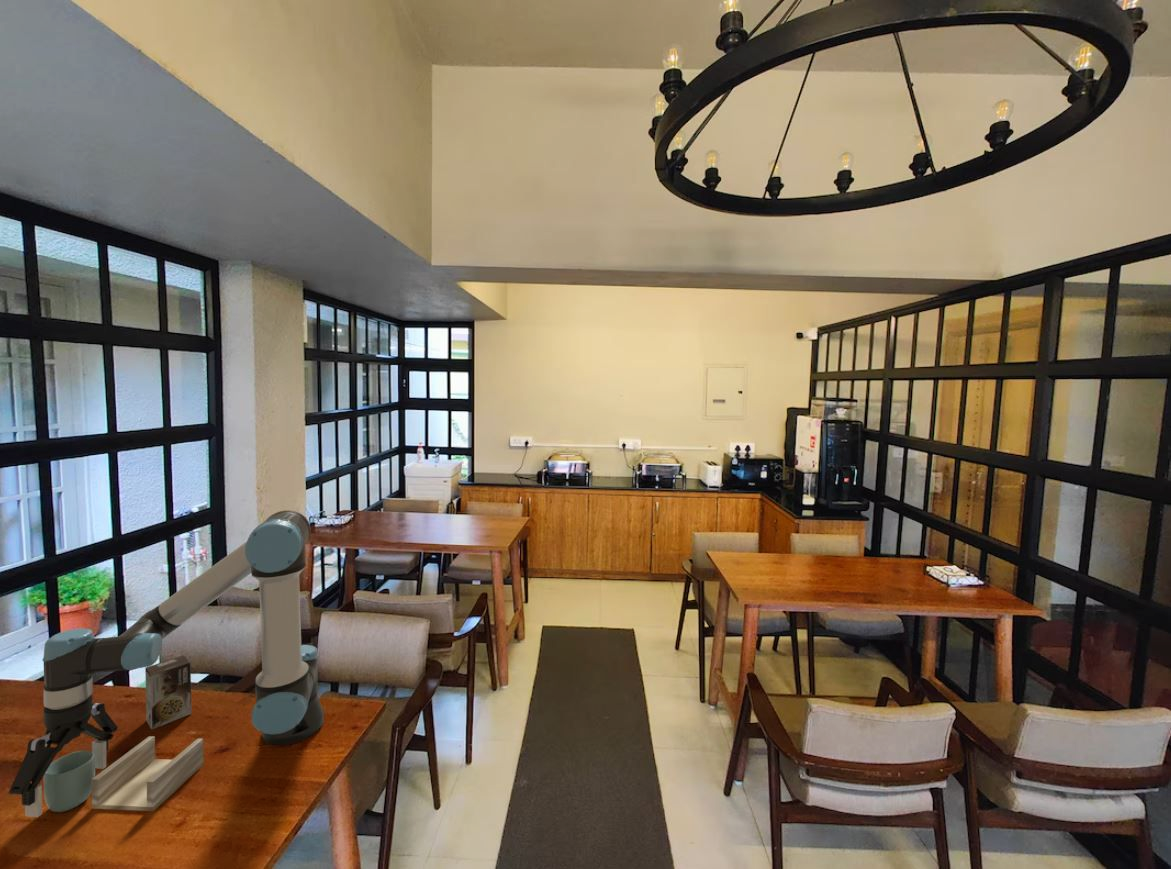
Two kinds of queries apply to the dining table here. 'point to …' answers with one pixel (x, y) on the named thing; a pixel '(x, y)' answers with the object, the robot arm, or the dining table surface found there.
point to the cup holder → (144, 777)
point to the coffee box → (168, 691)
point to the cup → (69, 780)
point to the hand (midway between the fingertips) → (68, 790)
